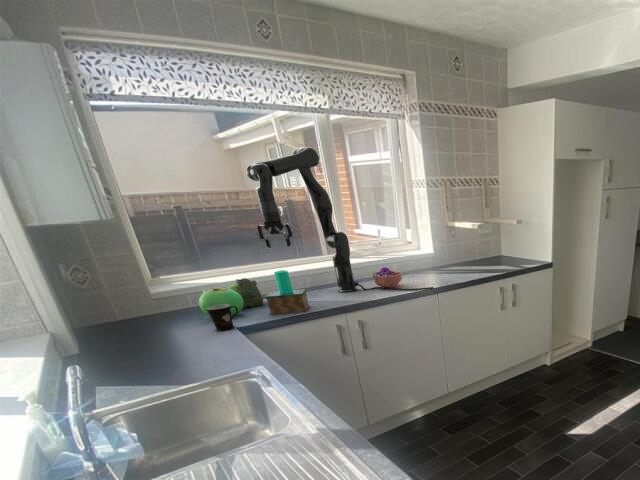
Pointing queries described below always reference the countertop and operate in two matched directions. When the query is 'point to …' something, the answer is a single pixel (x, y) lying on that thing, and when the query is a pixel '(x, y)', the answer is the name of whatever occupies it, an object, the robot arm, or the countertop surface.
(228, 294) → the green round pot
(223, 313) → the coffee mug
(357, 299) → the countertop surface
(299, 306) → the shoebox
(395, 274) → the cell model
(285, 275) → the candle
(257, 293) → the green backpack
